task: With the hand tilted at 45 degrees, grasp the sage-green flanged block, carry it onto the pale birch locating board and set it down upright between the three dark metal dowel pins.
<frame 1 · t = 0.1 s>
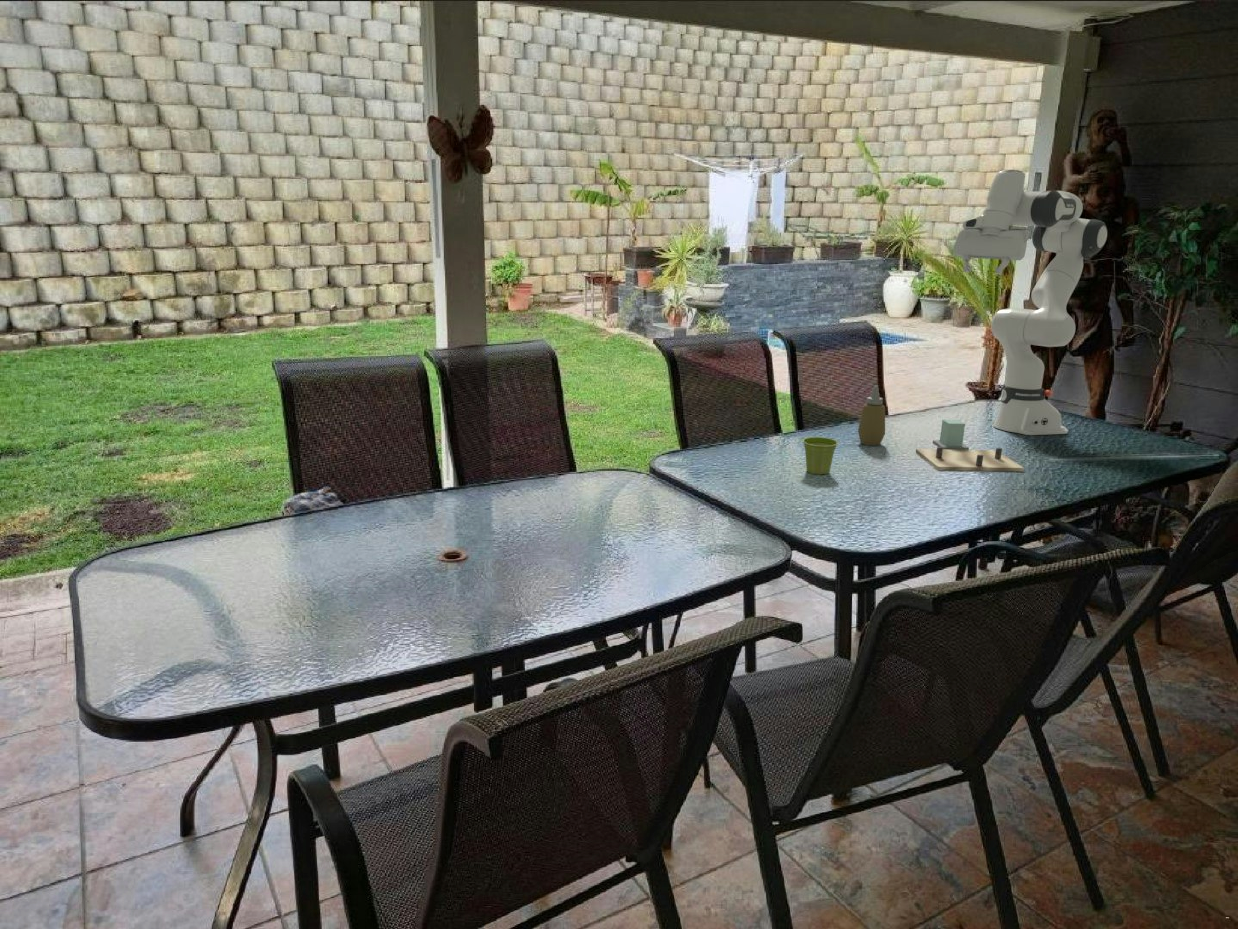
hand: (981, 273, 248), 52 cm above the table, tool tilted 20°, fingers open, 8 cm apart
locating board: (967, 461, 248), on the table
plant pot: (817, 472, 236), on the table
squeeze bottle: (870, 444, 265), on the table
flange block: (950, 447, 263), on the table
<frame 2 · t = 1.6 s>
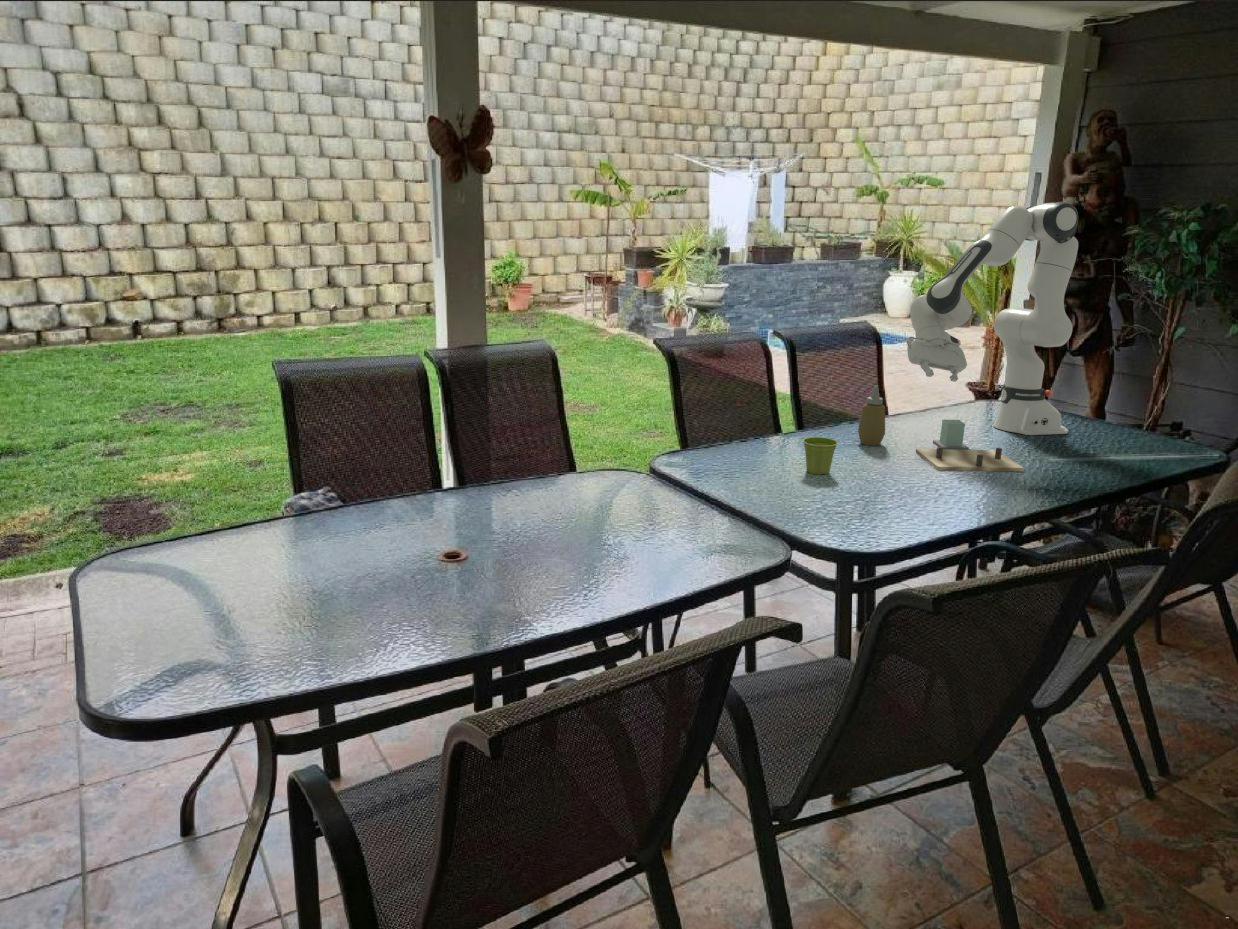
hand: (942, 378, 266), 19 cm above the table, tool tilted 45°, fingers open, 8 cm apart
nothing on the table moved.
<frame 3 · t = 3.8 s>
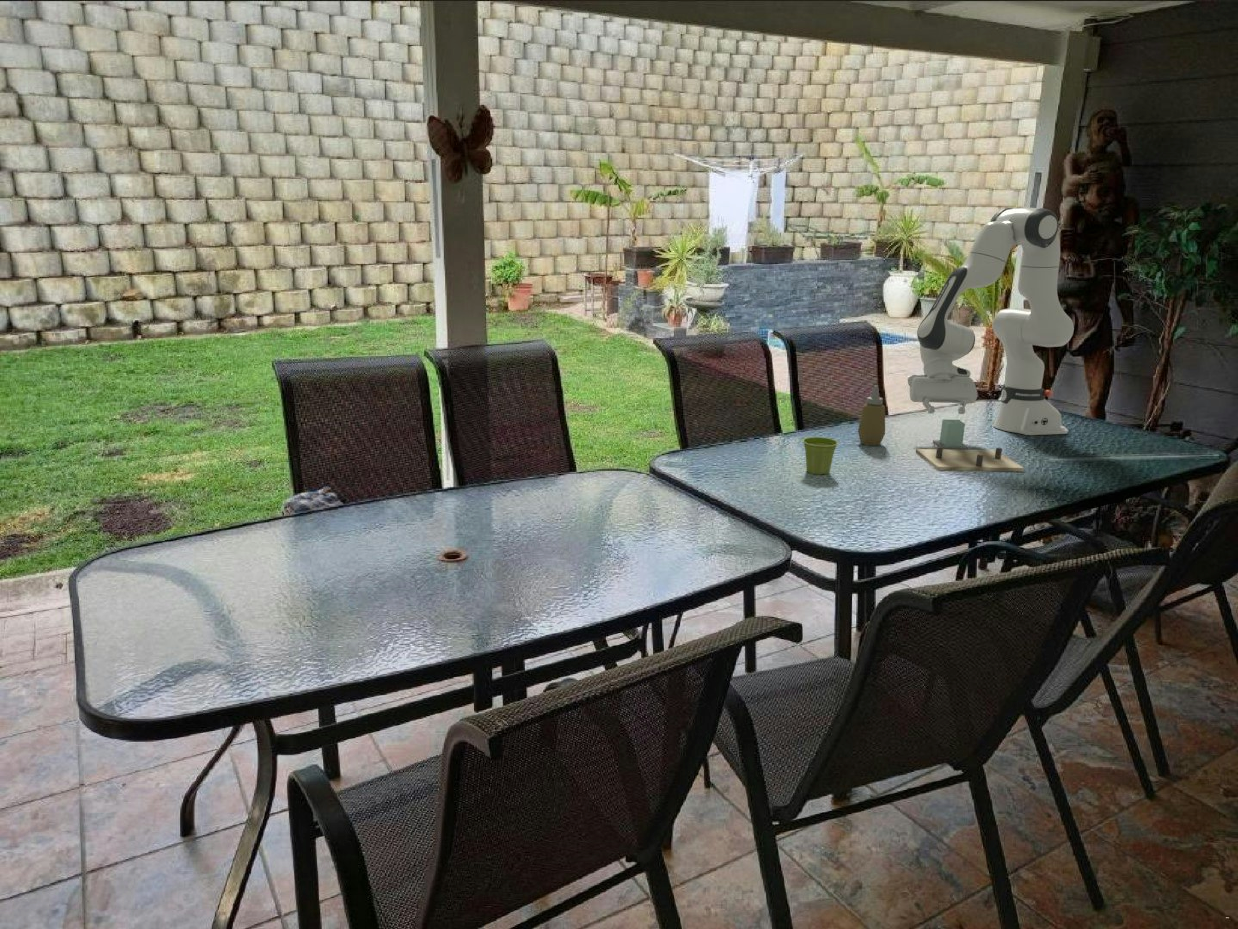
hand: (946, 412, 265), 9 cm above the table, tool tilted 45°, fingers open, 8 cm apart
nothing on the table moved.
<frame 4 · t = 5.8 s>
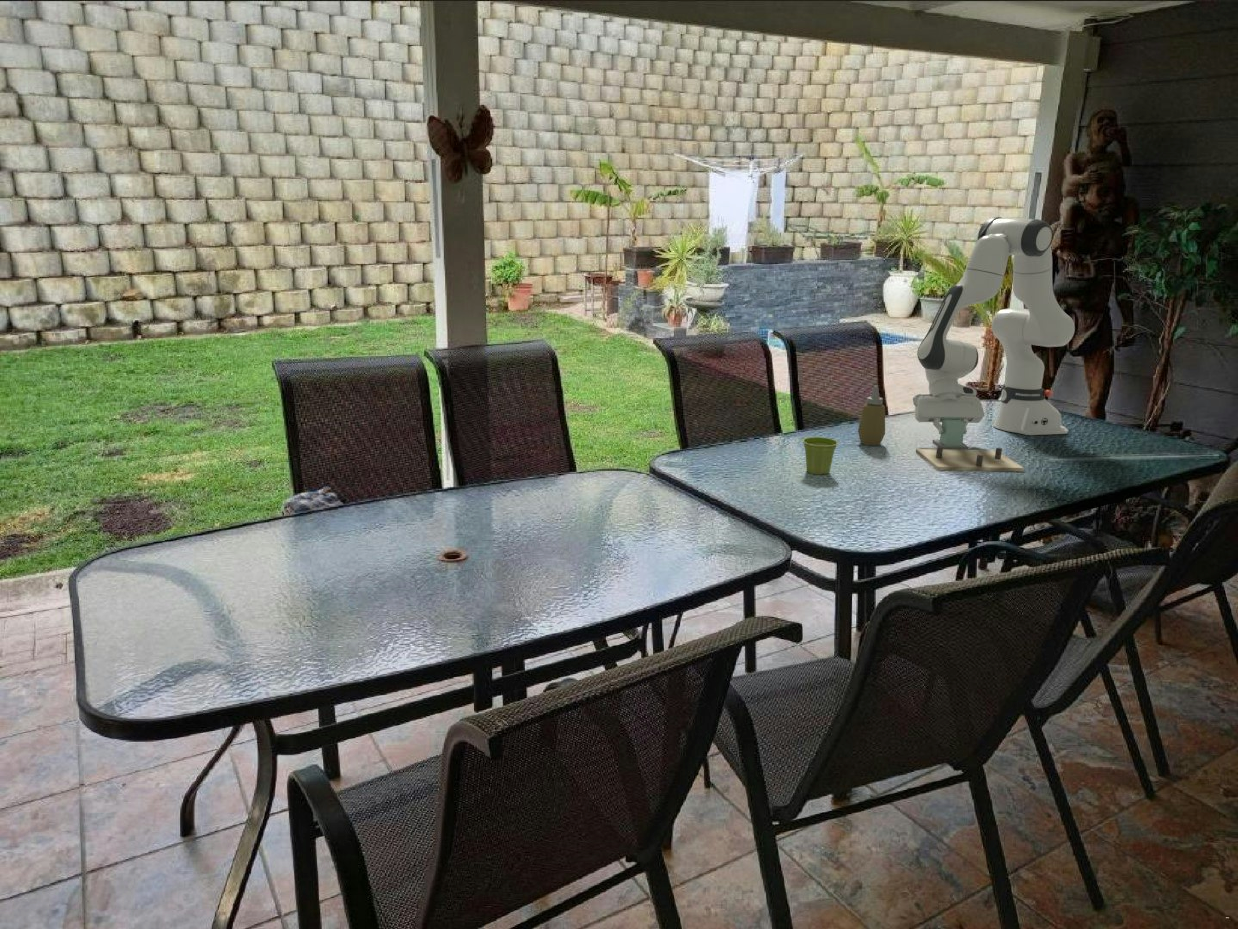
hand: (953, 433, 261), 4 cm above the table, tool tilted 45°, fingers closed on flange block, 5 cm apart
flange block: (950, 446, 263), on the table, touching gripper
everything else where it was.
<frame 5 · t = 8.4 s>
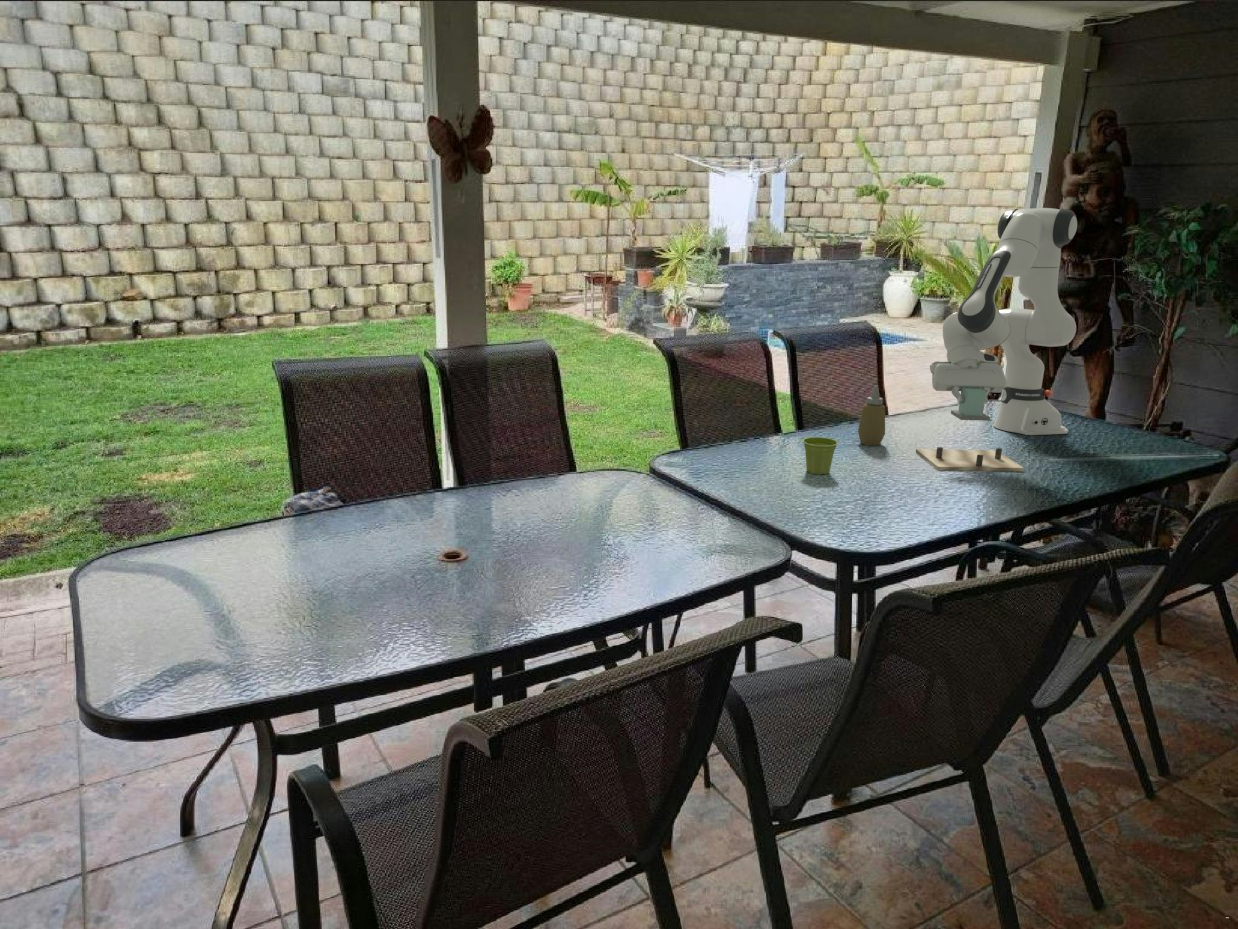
hand: (973, 402, 244), 17 cm above the table, tool tilted 45°, fingers closed on flange block, 5 cm apart
flange block: (969, 417, 246), point 13 cm above the table, touching gripper
everything else where it was.
when the fingers open (7 cm above the table, at t = 11.3 s): flange block drops 1 cm, resting on locating board.
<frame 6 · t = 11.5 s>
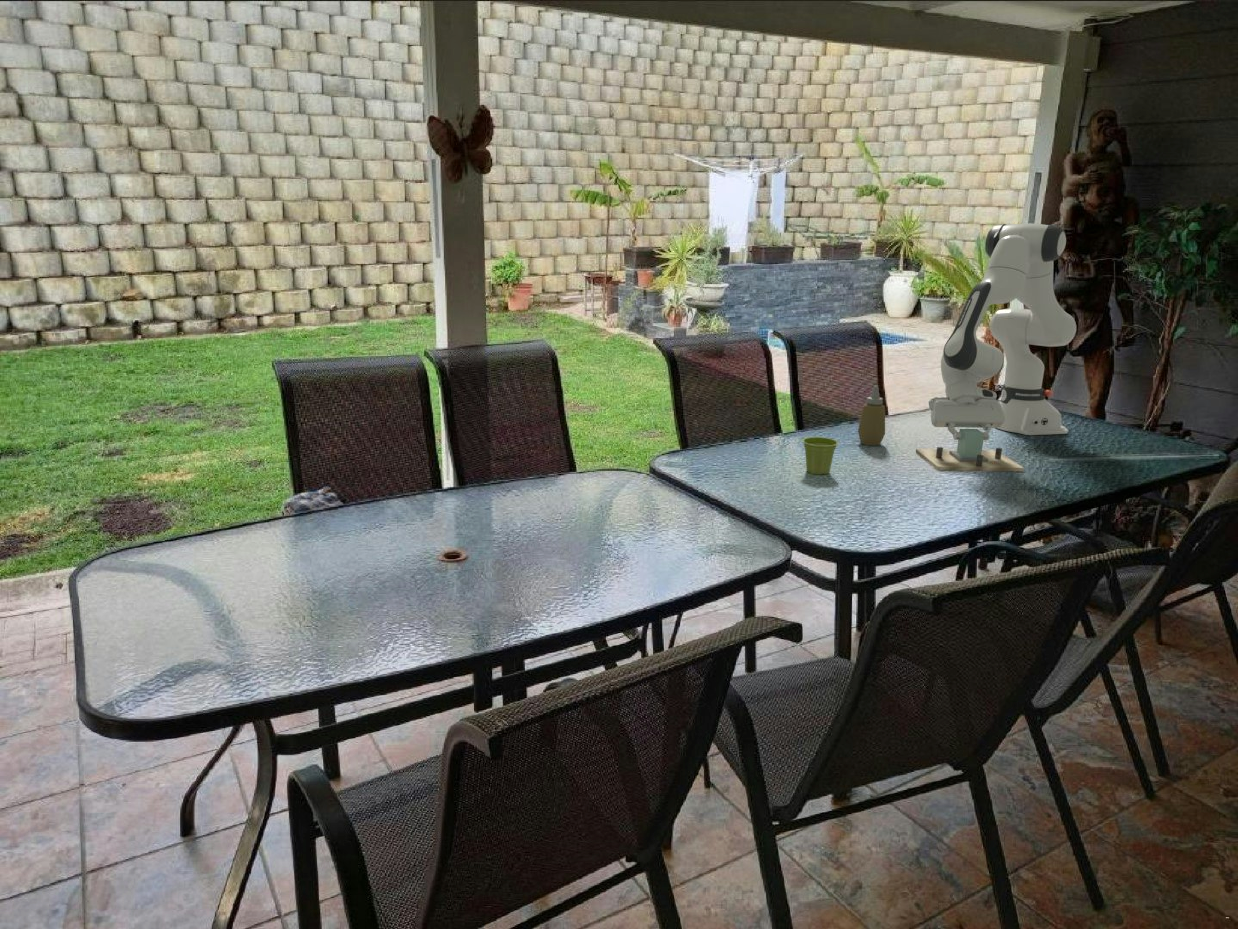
hand: (971, 439, 245), 7 cm above the table, tool tilted 45°, fingers open, 7 cm apart
flange block: (968, 458, 248), point 1 cm above the table, touching locating board
everything else where it was.
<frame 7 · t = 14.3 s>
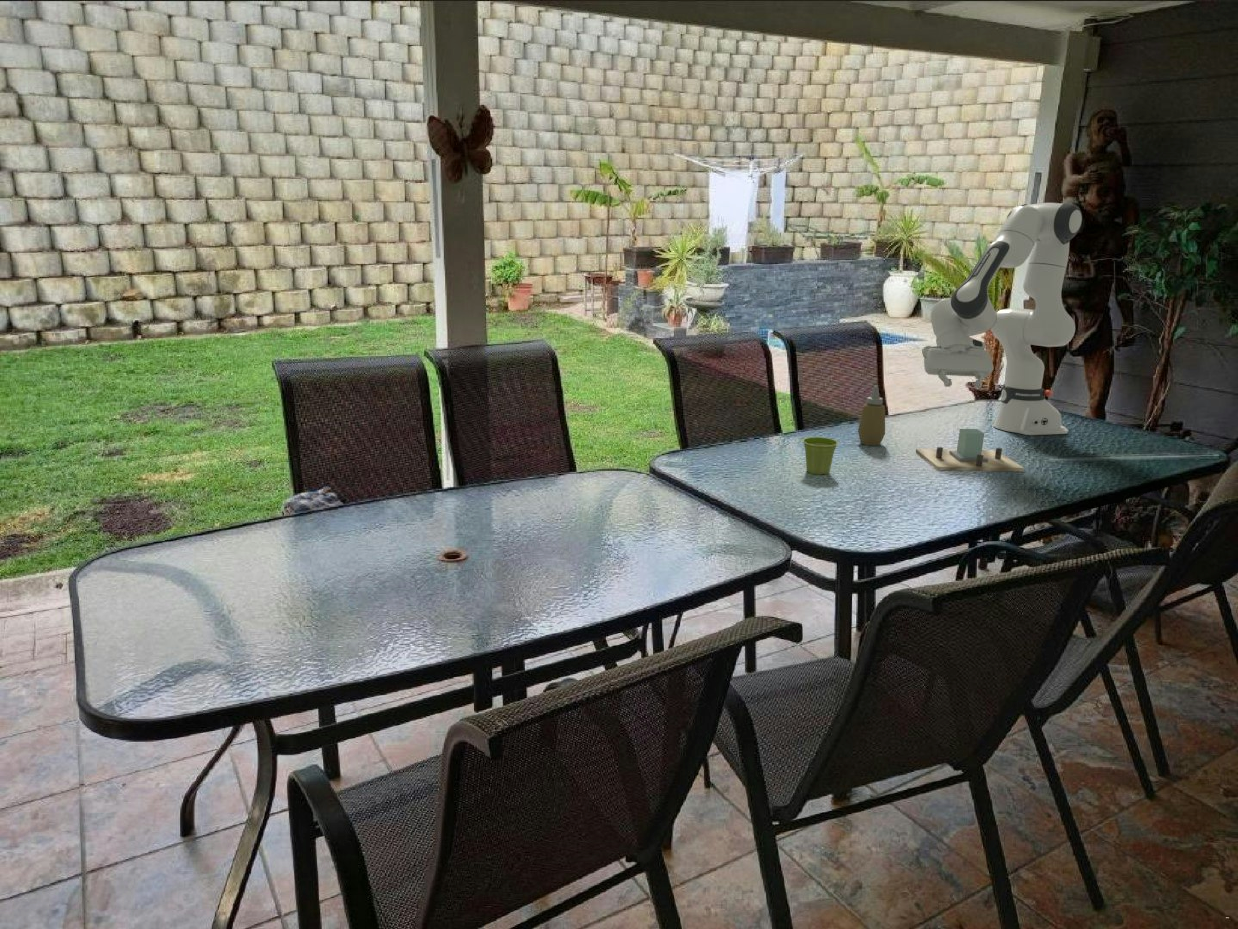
hand: (963, 386, 253), 20 cm above the table, tool tilted 45°, fingers open, 8 cm apart
nothing on the table moved.
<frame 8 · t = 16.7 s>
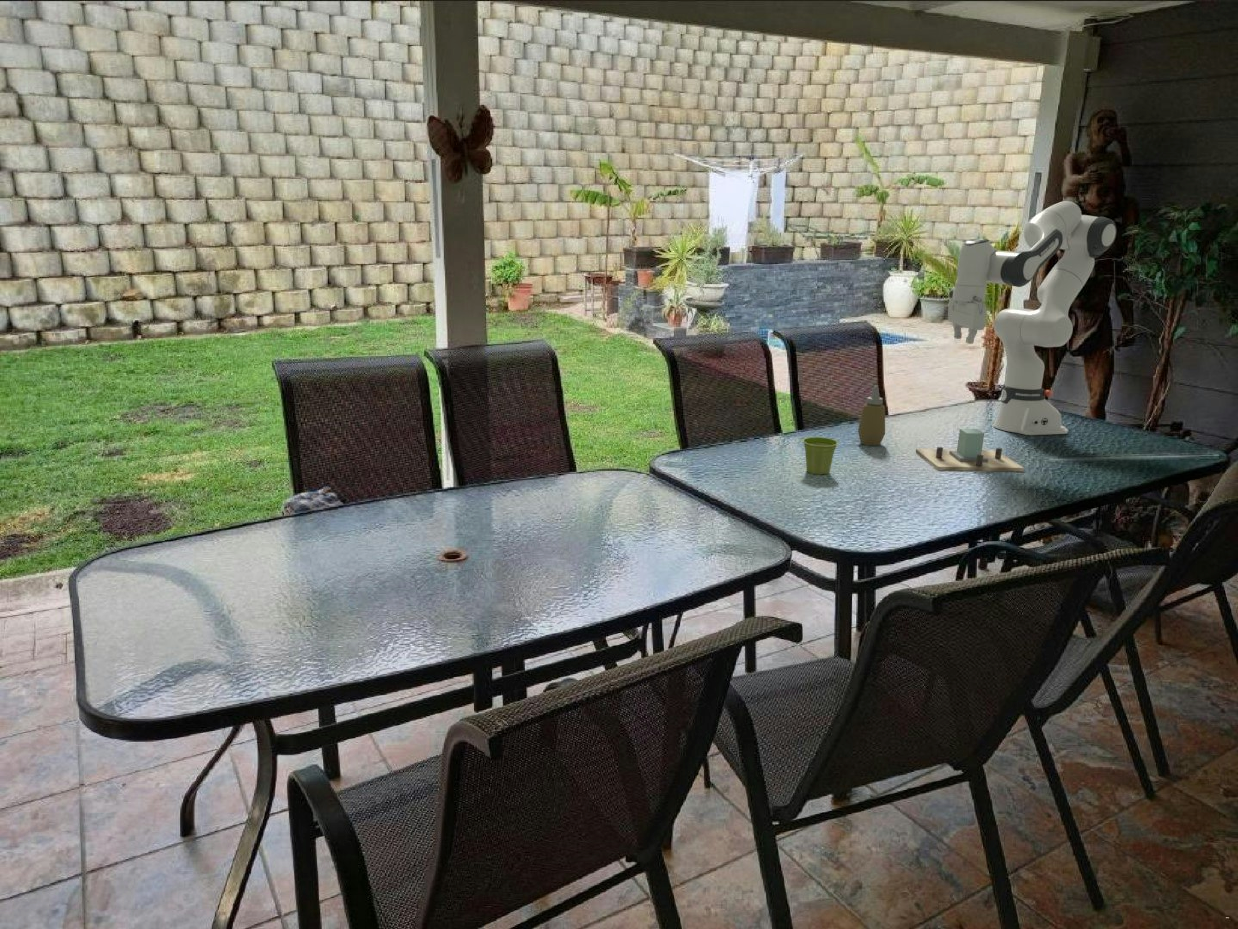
hand: (963, 340, 262), 31 cm above the table, tool pointing down, fingers open, 8 cm apart
nothing on the table moved.
at the end: flange block 0.1 cm off-centre on the locating board, point 1.0 cm above the locating board's base; flange block tilted 0°; the gripper is holding nothing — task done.
